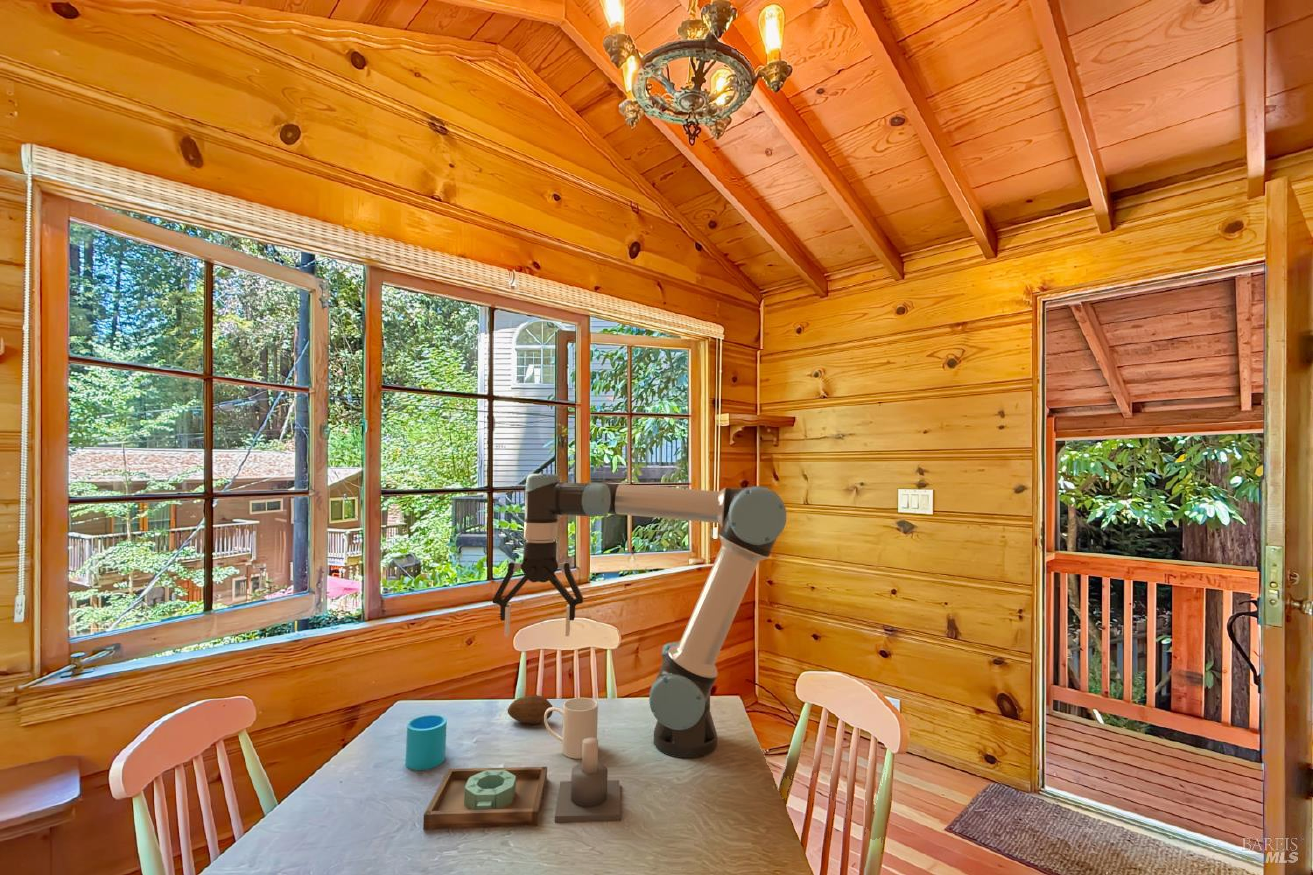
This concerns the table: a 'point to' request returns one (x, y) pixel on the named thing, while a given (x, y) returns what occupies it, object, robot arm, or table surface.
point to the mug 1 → (426, 742)
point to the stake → (588, 790)
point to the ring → (490, 790)
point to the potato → (530, 709)
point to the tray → (454, 814)
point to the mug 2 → (576, 724)
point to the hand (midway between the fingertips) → (537, 634)
